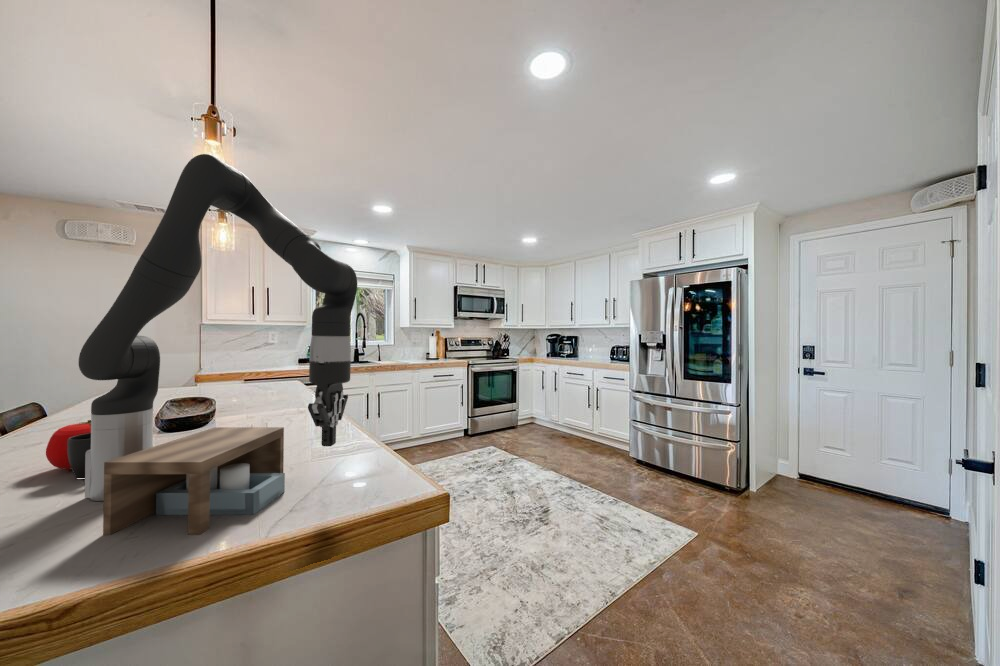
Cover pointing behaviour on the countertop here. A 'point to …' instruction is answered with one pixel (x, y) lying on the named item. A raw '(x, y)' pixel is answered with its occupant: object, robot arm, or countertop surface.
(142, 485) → the counter shelf
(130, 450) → the robot arm
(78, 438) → the mug
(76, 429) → the tomato
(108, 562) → the countertop surface
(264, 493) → the tray
